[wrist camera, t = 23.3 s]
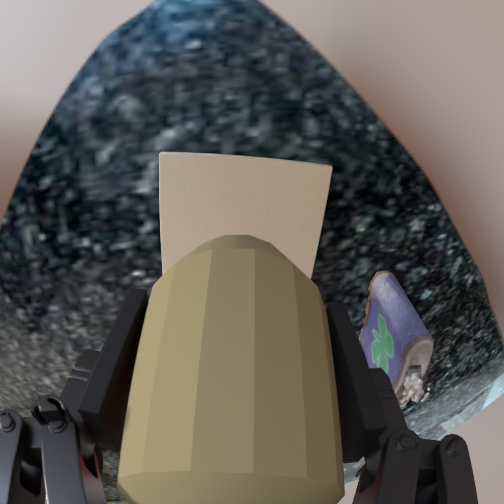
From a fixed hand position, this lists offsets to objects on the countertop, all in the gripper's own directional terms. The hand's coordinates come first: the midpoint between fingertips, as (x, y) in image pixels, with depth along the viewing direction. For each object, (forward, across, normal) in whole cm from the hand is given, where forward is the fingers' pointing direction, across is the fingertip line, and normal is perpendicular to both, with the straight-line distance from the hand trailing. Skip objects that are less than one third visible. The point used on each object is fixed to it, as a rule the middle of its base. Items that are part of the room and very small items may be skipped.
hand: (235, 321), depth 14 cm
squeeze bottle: (+3, 0, 0) cm, 3 cm away
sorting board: (+11, 0, -7) cm, 13 cm away
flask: (+11, +13, -8) cm, 19 cm away
